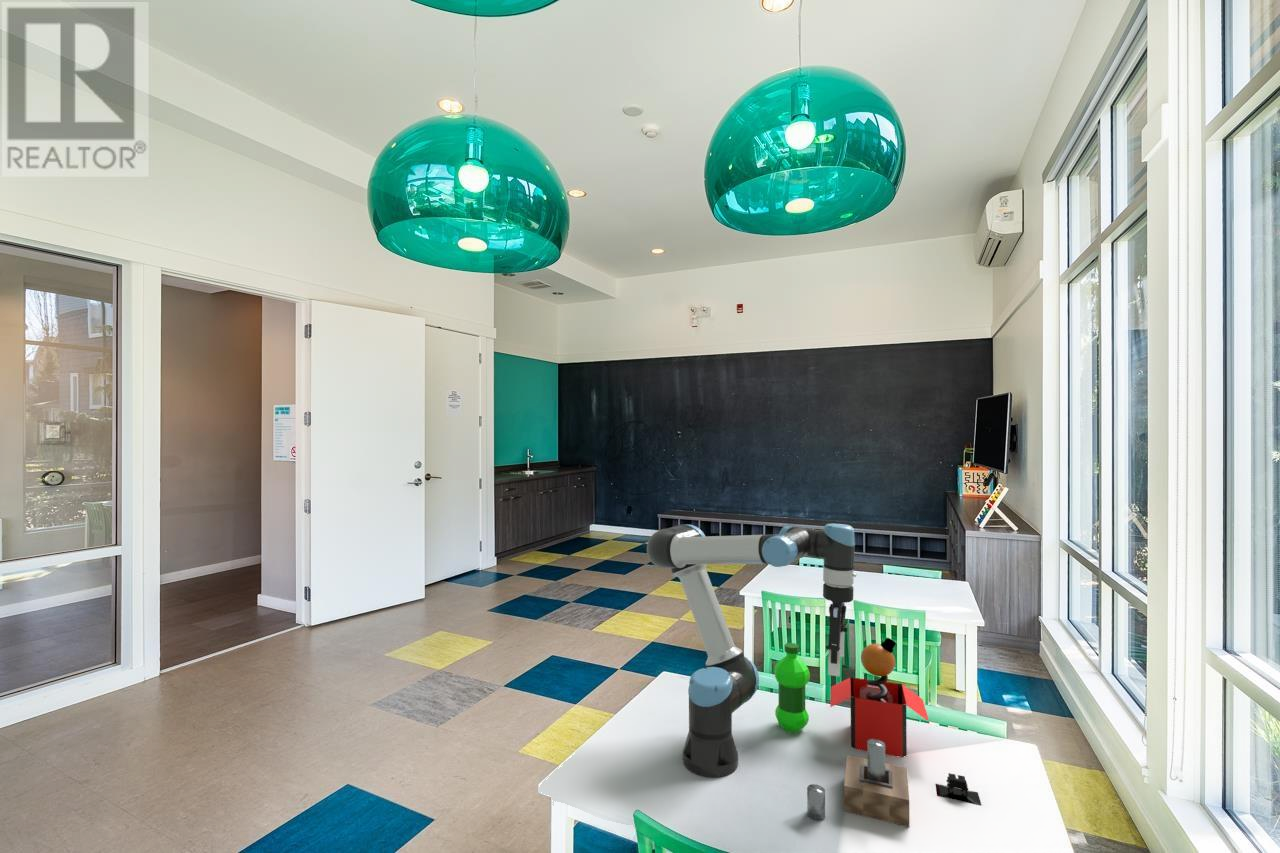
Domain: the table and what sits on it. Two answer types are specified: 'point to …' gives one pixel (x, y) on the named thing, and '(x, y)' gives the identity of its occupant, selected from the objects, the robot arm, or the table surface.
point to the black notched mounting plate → (957, 790)
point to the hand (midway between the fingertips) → (836, 665)
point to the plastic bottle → (791, 690)
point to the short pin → (816, 802)
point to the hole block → (877, 792)
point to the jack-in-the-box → (878, 702)
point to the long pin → (876, 760)
